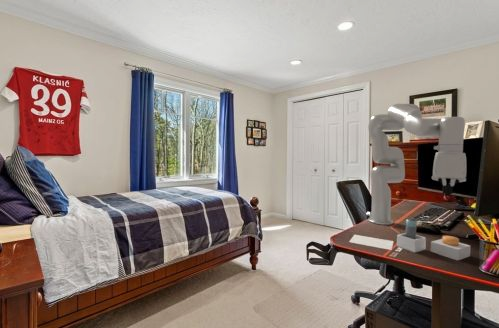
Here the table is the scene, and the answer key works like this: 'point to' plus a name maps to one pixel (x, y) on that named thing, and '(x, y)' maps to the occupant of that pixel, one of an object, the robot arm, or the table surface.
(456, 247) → the button box
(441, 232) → the table surface
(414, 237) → the marker
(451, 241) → the button
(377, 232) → the table surface
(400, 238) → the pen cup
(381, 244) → the paper
